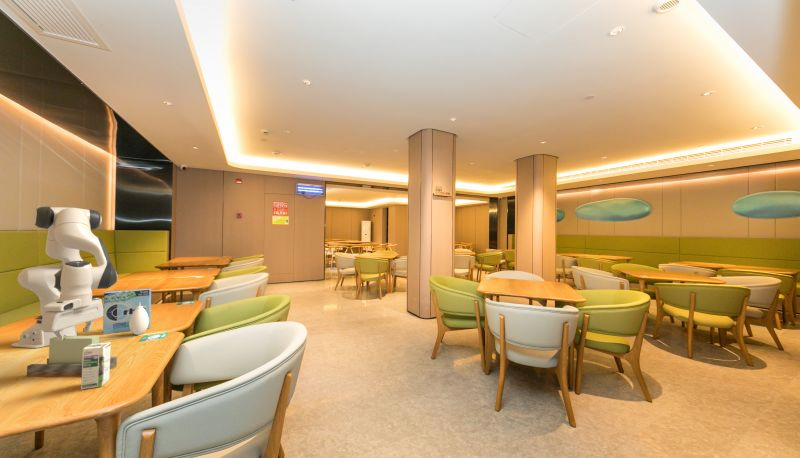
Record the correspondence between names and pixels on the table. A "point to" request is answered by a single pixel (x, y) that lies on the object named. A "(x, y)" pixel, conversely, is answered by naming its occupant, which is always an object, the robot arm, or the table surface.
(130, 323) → the white air blower bulb
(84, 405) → the table surface
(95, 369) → the syrup box
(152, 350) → the table surface
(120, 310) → the gum box
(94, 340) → the door panel
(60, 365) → the track
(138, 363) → the table surface
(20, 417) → the table surface
